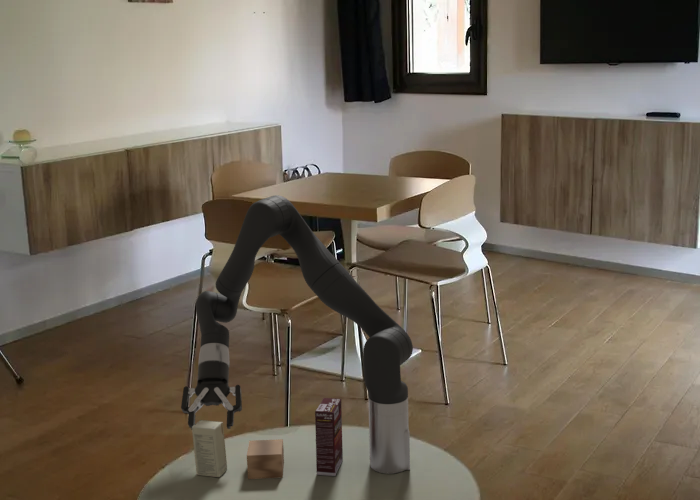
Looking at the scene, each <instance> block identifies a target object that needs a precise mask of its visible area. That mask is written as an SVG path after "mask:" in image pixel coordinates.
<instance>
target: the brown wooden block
mask: <svg viewBox="0 0 700 500" xmlns="http://www.w3.org/2000/svg"><path fill="white" fill-rule="evenodd" d="M284 453H285V450H284V439H283V438H281V439H258V440H255V439H253V440H249V441H248V446H247V453H246V468H247V480H255V479H256V480H258V479H259V480H260V479H276V478H277V479H278V478H279V479H281V478H284V477H283V476H284V467H285V458H284V457H285V454H284Z"/></svg>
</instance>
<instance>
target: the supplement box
mask: <svg viewBox="0 0 700 500" xmlns="http://www.w3.org/2000/svg"><path fill="white" fill-rule="evenodd" d="M342 413H343V412H342V398H332V397H323V398H322V400H321V402H320V403H319V405H318V407H317V408H316V410H315V411H314V416H315V417H314V419H315V420H314V421H315V422H314V423H315V452H316V453H315V455H316V456H315V457H316V460H315V461H316V465H315V466H316V468H315V469H316V475H318V476H327V477H328V476H329V477H336V476H337V473H338V471H339V468H340V466H341V464H342V463H343V461H344V459H343V458H344V457H343V454H344V453H343V419H342Z"/></svg>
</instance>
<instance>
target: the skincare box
mask: <svg viewBox="0 0 700 500" xmlns="http://www.w3.org/2000/svg"><path fill="white" fill-rule="evenodd" d="M191 431H192V433H191V434H192V441H193V442H192V443H193V450H194V461H195V471H196V475H198V476H203V477H214V478H221V476H222V475H224V474H225V472H226V471H227V470H228V462H227V453H226V451H227V450H226V440H225V432H224V431H225V430H224V422H223V421H217V420H216V421H215V420H205V419H200V420H199V421H197V422H195V425H193V426H192V430H191Z"/></svg>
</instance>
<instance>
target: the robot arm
mask: <svg viewBox="0 0 700 500" xmlns="http://www.w3.org/2000/svg"><path fill="white" fill-rule="evenodd" d="M238 233H239V234H238V236H237V239H236V242H235V244H234V247H233V250H232V251H231V253H230V256H229V258H228V259H227V261H226V263H225V265H224V266H223V268H222V270H221V271H220V274H219V275H218V276H217V278H216V281H215V288H216V290H217V292H215V291H211V290H204V291H202V292H201V293H199V295H198V296H197V298H196V303H195V313H196V317H197V321H198V325H199V328H200V329H199V330H200V349H199V354H198V365H197V367H198V368H197V380H196V382H197V383H196V387H195V388H194V387H191V388H190V387H188V386H184V387H183V391H182V396H181V398H182V399H181V405H180V408H181V411H182V413H183V414H188V417H187V419H188V420H187V425H188V428H190V429H191V431H192V426H193V425H195V424H196V413H197V412H199V410H201V409H202V407H203V406H206V407H209V406H219V405H221V404H222V406H223V407H224V409H226V429H228V430H231V427H233V426H234V425H235V424H234V420H235V419H234V418H235V413H238V412H241V411H243V405H242V403H243V401H242V397H243V396H242V388H241V385H240V384H236V385H235V386H229V382H230V381H229V379H230V377H229V376H230V375H229V374H230V366H231V365H230V364H231V363H230V330H229V329H228V328H227V327H226V326H225V325H223V324H222V323H225V324H226V323H230V322H232V321H233V320H234V319H235V318H236V316H237V313H238V308H239V302H240V298H241V296H242V294H243V290H244V289H245V288H246V286H247V284H248V283H249V281H250V279H251V277H252V275H253V273H254V269H255V263H256V257H257V255H258V252H259V251H260V249H261V248H262V246H264V244H265V243H266V242H267V241H268V240H269V239H270V238H273V237H277V236H278V235H280V236H281V237H282V238H283V239H284V240H285V241H286V242H287V244H289V246H290V247H291V248H292V250H293V251H294V253H295V255H296V257H297V259H298V263H299V266H300V270H301V273H302V276H303V279H304V281H305V283H306V284H307V286H308V287H309V289H311V291H312V292H313V293H314V294H315V296H316V297H318V299H319V300H320V301H321V302H322V303H323V304H324V305H325V306H326V307H328V308H330V309H331V310H333V312H336V313H338V314H339V315H341V316H343V317H345V318H346V319H349V321H350V320H351V321H352V322H354V323H355V324H356V325H357V326H358V327H359V328H360V329H362V331H363V332H364V333H365V334H366V335H367V337H368V339H366V341H365V342H364V345H363V350H362V363H363V364H362V365H363V367H362V368H363V376H364V377H363V378H364V385H365V388H366V390H367V392H368V393H367V394H368V396H367V397H368V398H367V399H368V435H369V436H368V441H369V466H370V468H371V469H372V470H373V471H375V472H377V473H380V474H387V475H388V474H389V475H390V474H397V473H402V472H403V471H409V470H411V447H410V445H411V443H410V440H411V439H410V438H411V437H410V436H411V435H410V433H411V432H410V429H409V389H408V387H409V386H408V385H407V383H406V382H404V381H402V375H401V366H402V365H403V364H404V363H406V362H407V361H408V360H409V359H410V358H411V356H412V355H413V350H414V349H413V348H414V346H413V342H412V339H411V337H410V336H409V334H408V333H407V331H406V330H405V329H403V327H402V326H401V325H400V324H399V323H398V322H397V321H395V319H393V318H392V317H391V316H390V315H389V314H387V312H386V311H384V310H383V309H382V308H381V306H379V305H378V304H377V303H376V302H375V301H374V299H373V298H372V297H371V296H370V295H369V294H368V293H367V291H365V290H364V289H363V287H362V286H361V285H360V284H359V283H358V282H357V281H356V280H355V278H354V277H353V276H352V274H351V273H350V272H349V271H348V270H347V268H345V267H344V265H343V264H342V263H341V262H340V261H339V260H338V259H337V258H336V257H335V256H334V255H333V253H331V252H330V250H329V249H328V248H327V247H326V245H325V244H324V243H323V242H322V241H321V240H320V239H319V237H318V236H317V235H316V234H315V233H314V231H313V230H312V229H311V228H310V226H309V225H308V223H307V222H306V220H305V219H304V218H303V217H302V215H301V213H300V212H299V211H298V209H297V208H296V207H295V206H294V204H293V203H292V202H291V201H290V200H289V199H288V198H286V197H285V196H282V195H280V194H279V195H271V196H269V197H265V198H262V199H259V200H257V201H255V202H253V203H252V204H251V205H250V206H249V208H248V209H247V211H246V214H245V216H244V219H243V223H242V225H241V228H240V230H239V232H238ZM219 322H220V323H219ZM231 393H232V396H234V397H235V404H234V405H232V403H230V401H229V399H228V398H227V397H228V396H229V394H231ZM194 394H195V395H196V398H195V399H194V401H193V403H192V404H191V405H190V406H189V403H190V398H192V397H193V395H194Z"/></svg>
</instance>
